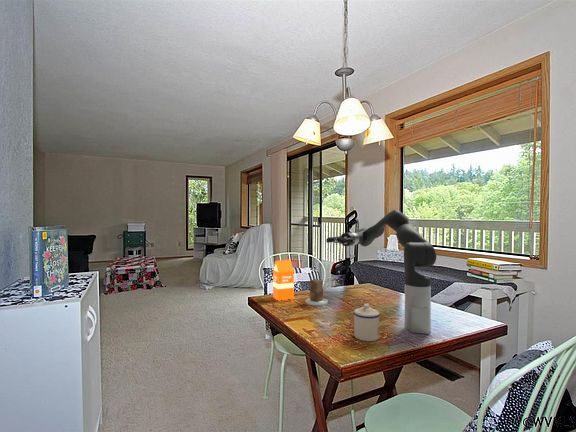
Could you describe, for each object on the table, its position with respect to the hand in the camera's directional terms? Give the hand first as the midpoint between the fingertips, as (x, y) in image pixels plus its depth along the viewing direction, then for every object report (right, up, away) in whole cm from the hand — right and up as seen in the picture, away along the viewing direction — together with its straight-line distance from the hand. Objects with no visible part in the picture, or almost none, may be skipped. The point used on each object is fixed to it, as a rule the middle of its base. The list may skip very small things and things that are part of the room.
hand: (333, 241), depth 163 cm
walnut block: (-10, -29, -7) cm, 31 cm away
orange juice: (-26, -30, +1) cm, 40 cm away
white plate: (-10, -30, -7) cm, 32 cm away
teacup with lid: (+4, -31, -49) cm, 58 cm away
